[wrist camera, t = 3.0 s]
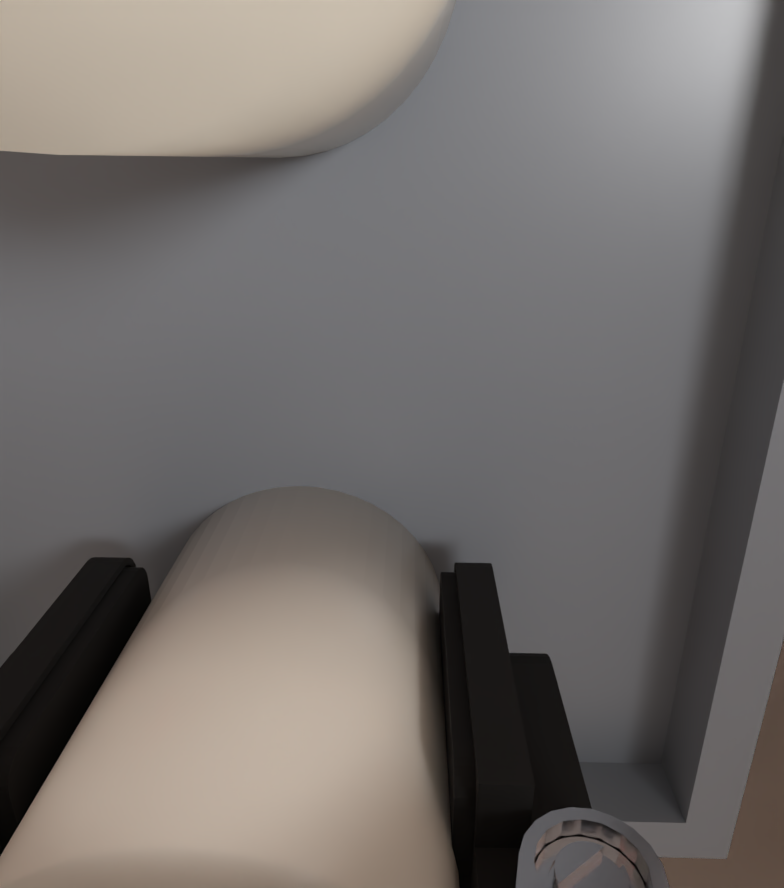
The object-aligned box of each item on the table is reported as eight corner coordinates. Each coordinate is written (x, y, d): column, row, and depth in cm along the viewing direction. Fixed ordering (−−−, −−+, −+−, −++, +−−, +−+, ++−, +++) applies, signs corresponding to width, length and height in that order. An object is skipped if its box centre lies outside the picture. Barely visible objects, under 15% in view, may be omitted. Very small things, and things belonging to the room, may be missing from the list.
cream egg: (445, 487, 11) (482, 855, 5) (438, 715, 12) (459, 1182, 7) (156, 484, 11) (-126, 838, 5) (188, 709, 12) (2, 1163, 7)
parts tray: (963, -524, 7) (1140, -743, 5) (687, 771, 13) (726, 859, 12) (-418, -490, 7) (-665, -685, 6) (-37, 754, 14) (-100, 837, 12)
